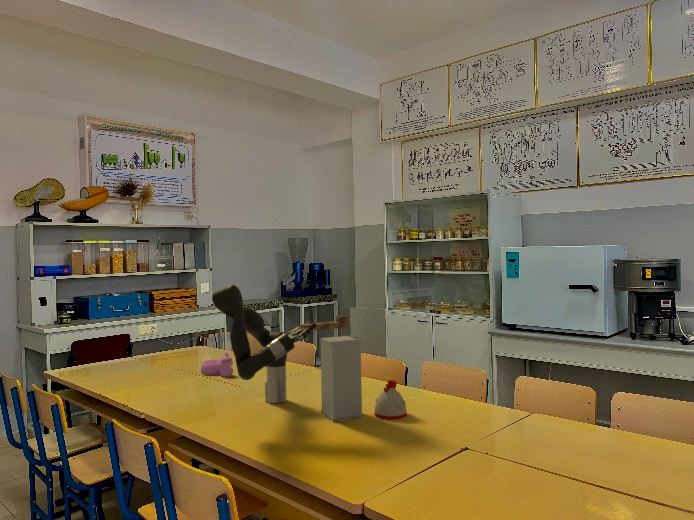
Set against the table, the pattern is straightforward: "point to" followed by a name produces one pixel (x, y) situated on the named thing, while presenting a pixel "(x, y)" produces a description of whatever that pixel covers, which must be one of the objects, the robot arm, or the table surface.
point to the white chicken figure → (390, 403)
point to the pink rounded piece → (218, 366)
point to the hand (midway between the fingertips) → (313, 323)
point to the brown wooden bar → (330, 324)
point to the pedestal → (341, 378)
